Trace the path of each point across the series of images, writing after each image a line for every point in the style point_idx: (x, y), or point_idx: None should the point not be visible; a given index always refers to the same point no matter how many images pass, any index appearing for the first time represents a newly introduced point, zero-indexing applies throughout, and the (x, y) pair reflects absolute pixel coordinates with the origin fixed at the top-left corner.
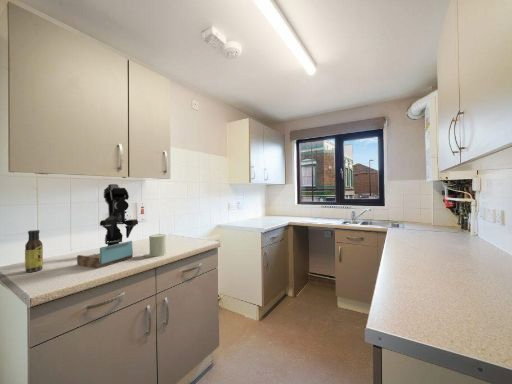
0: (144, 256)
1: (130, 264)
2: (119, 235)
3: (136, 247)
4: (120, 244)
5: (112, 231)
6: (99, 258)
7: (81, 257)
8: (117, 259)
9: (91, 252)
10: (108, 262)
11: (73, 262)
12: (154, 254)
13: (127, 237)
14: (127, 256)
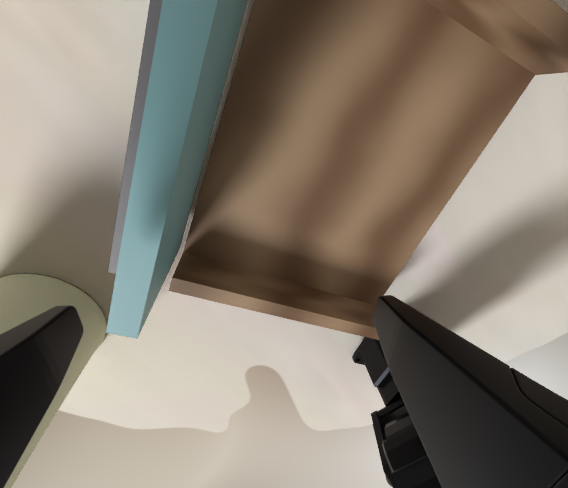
0: (111, 275)
1: (26, 39)
2: (399, 465)
3: (312, 422)
4: (131, 154)
5: (437, 438)
6: (388, 140)
7: (545, 10)
8: (218, 130)
9: (517, 340)
10: (245, 33)
11: (564, 141)
12: (8, 283)
13: (52, 314)
14: (192, 220)
